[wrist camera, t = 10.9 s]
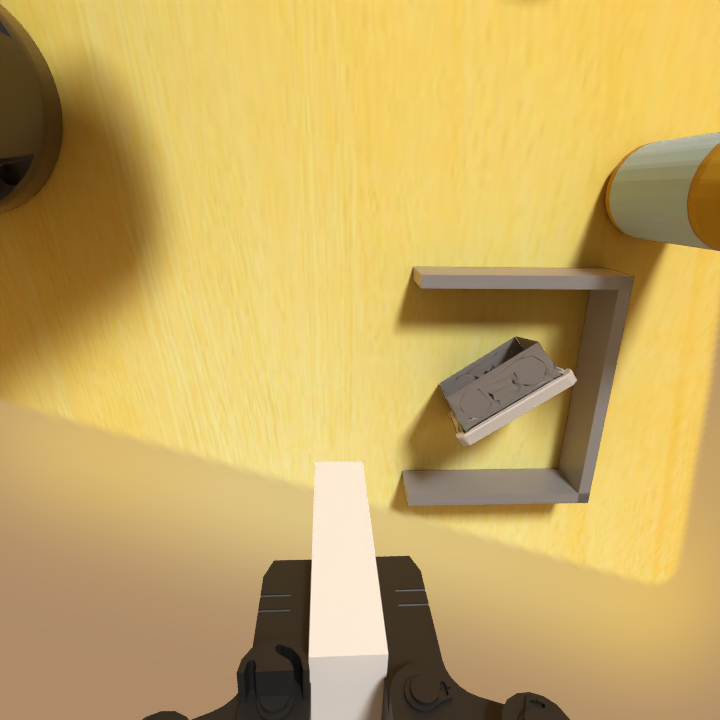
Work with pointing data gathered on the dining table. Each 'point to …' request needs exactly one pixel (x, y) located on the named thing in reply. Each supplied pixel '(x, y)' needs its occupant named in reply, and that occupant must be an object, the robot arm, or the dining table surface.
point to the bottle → (669, 192)
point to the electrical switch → (502, 388)
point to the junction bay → (586, 399)
